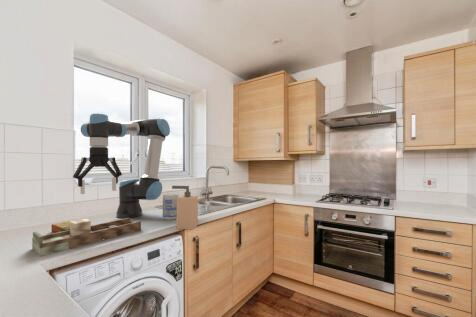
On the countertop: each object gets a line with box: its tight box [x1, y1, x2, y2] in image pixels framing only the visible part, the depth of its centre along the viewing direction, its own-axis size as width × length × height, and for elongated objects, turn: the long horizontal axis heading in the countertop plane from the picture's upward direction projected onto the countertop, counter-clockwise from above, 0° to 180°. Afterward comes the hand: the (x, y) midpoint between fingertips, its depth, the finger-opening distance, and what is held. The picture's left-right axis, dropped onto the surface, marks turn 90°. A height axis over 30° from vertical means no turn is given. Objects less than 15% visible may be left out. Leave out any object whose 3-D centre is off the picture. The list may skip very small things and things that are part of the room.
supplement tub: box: [162, 192, 180, 221], centre depth 142 cm, size 10×10×15 cm
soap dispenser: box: [171, 185, 199, 231], centre depth 123 cm, size 13×9×22 cm
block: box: [69, 218, 92, 236], centre depth 102 cm, size 6×6×6 cm
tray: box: [31, 218, 142, 257], centre depth 106 cm, size 40×12×7 cm, turn 142°
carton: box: [51, 220, 71, 234], centre depth 114 cm, size 8×16×4 cm, turn 59°
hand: (99, 192), depth 109 cm, fingers open, 13 cm apart
